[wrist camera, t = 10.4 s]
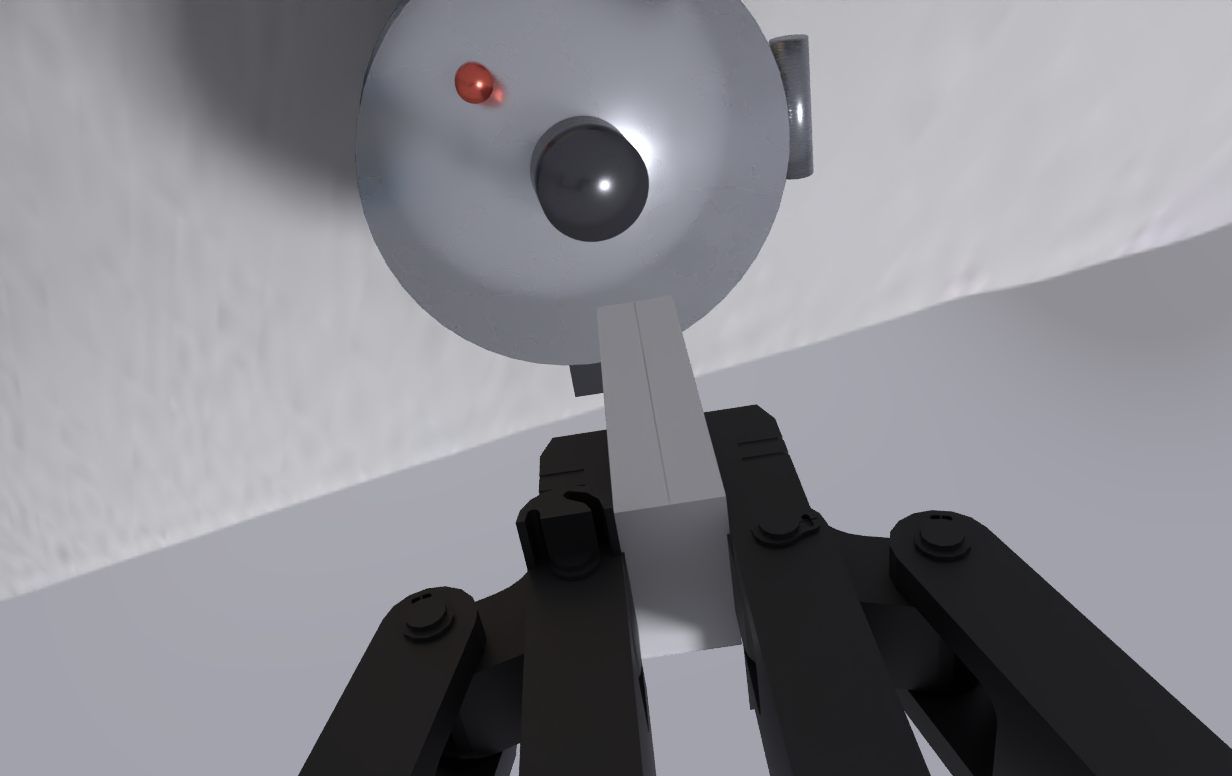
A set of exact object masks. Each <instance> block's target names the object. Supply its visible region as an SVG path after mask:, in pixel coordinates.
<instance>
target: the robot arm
mask: <svg viewBox="0 0 1232 776" xmlns="http://www.w3.org/2000/svg"><path fill="white" fill-rule="evenodd" d="M596 310H597V322H598V334H599V345H600V357H601V369H602V381H603V392H604V404H605V416H606V427H607V430H601V431H594V432H588V433H581V434H575V435H568V436H562V437H555V438H552V440H551V441H550V443H549V444H548V446H547V447H546V449H545V450H544V452H543V453H542V455H541V456H540V474H539V476H540V480H539V496H537V497H535V498H533V499H531V500H530V501H529V502H528V503H527V504H526V505H525V506H524V507H523V508H522V509H521V510H520V512H519V515H518V518H517V521H516V526H517V530H518V534H519V538H520V542H521V546H522V550H523V553H524V558H525V561H526V565H527V569H528V571H527V573H526V574H525V575H524V576H523V577H522V578H521V579H520V580H519V581H517V582H516V583H515V584H513V585H512V586H510V587H509V588H506V589H504V590H503V591H500V592H498V593H496V594H494V595H492V596H489V597H486V598H484V599H481V600H479V601H476V602H475V601H474V599H473V597H472V596H470V595H469V594H467V593H466V592H464V591H463V590H462V589H457V588H451V587H446V586H444V587H436V588H428V589H425V590H422V591H420V592H417V593H414V594H412V595H409V596H408V597H406V598H405V599H404V600H402V601H401V602H399V603H398V604H396V605H395V606H393V608H392V609H391V610H390V611H389V613H388V614H387V615H386V616H385V618H384V619H383V620H382V622H381V624H380V626H379V628H378V630H377V631H376V633H375V635H374V637H373V639H372V640H371V642H370V644H369V646H368V648H367V650H366V652H365V653H364V656H363V657H362V659H361V661H360V663H359V664H358V666H357V668H356V670H355V672H354V674H353V675H352V677H351V679H350V681H349V683H348V685H347V687H346V688H345V690H344V692H343V694H342V696H341V698H340V699H339V701H338V703H337V705H336V707H335V709H334V711H333V712H332V714H331V716H330V718H329V720H328V722H327V723H326V725H325V727H324V729H323V731H322V733H321V734H320V736H319V738H318V740H317V742H316V744H315V746H314V747H313V749H312V751H311V753H310V755H309V757H308V758H307V760H306V762H305V764H304V766H303V768H302V769H301V772H300V773H299V775H298V776H509V775H510V772H511V769H512V766H513V763H514V760H515V757H516V748H517V744H518V743H520V764H519V776H656V770H655V760H654V751H653V743H652V734H651V724H650V715H649V706H648V697H647V688H646V683H645V677H644V672H643V667H642V660H641V659H646V658H653V657H659V656H666V655H673V654H679V653H686V652H693V651H700V650H707V649H714V648H721V647H727V646H734V645H741V644H742V642H743V646H744V655H745V665H746V674H747V683H748V693H749V702H750V710H752V709H755V712H756V717H757V721H758V725H759V729H760V734H761V738H762V743H763V747H764V751H765V756H766V760H767V764H768V768H769V773H770V776H931V775H930V773H929V770H928V768H927V766H926V763H925V760H924V758H923V756H922V753H921V751H920V748H919V746H918V743H917V741H916V738H915V736H914V734H913V731H912V729H911V726H910V724H909V721H908V719H907V717H906V714H907V715H908V716H909V718H910V719H911V720H912V722H913V723H914V724H915V726H916V727H917V728H918V730H919V731H920V732H921V734H922V735H923V736H924V738H925V739H926V740H927V742H928V743H929V745H930V746H931V747H932V749H933V750H934V751H935V752H936V754H937V755H938V757H939V758H940V759H941V761H942V762H943V763H944V765H945V766H946V767H947V769H948V770H949V771H950V773H951V774H952V775H953V776H1232V749H1231V748H1230V747H1229V746H1228V745H1227V744H1226V743H1224V742H1223V741H1222V740H1221V739H1220V738H1219V737H1218V736H1217V735H1216V734H1214V733H1213V732H1212V731H1211V730H1210V729H1209V728H1208V727H1207V726H1206V725H1204V724H1203V723H1202V722H1201V721H1200V720H1199V719H1198V718H1196V716H1195V715H1193V714H1192V713H1191V712H1190V711H1189V710H1188V709H1187V708H1186V707H1185V706H1184V705H1182V704H1181V703H1180V702H1179V701H1178V700H1177V699H1176V698H1175V697H1174V696H1172V695H1171V694H1170V693H1169V692H1168V691H1167V690H1166V689H1165V688H1164V687H1163V686H1161V685H1160V684H1159V683H1158V682H1157V681H1156V680H1155V679H1154V678H1153V677H1151V676H1150V675H1149V674H1148V673H1147V672H1146V671H1145V670H1144V669H1142V668H1141V667H1140V666H1139V665H1138V664H1137V663H1136V662H1135V661H1134V660H1133V659H1132V658H1130V657H1129V656H1128V655H1127V654H1126V653H1125V652H1124V651H1123V650H1122V649H1121V648H1119V647H1118V646H1117V645H1116V644H1115V643H1114V642H1113V641H1112V640H1110V639H1109V638H1108V637H1107V636H1106V635H1105V634H1104V633H1103V632H1102V631H1101V630H1100V629H1098V628H1097V627H1096V626H1095V625H1094V624H1093V623H1092V622H1091V621H1090V620H1088V619H1087V618H1086V617H1085V616H1084V615H1083V614H1082V613H1081V612H1079V610H1077V609H1076V608H1075V607H1074V606H1073V605H1072V604H1071V603H1070V602H1069V601H1067V600H1066V599H1065V598H1064V597H1063V596H1062V595H1061V594H1060V593H1059V592H1057V591H1056V590H1055V589H1054V588H1053V587H1052V586H1051V585H1050V584H1049V583H1048V582H1046V581H1045V580H1044V579H1043V578H1042V577H1041V576H1040V575H1039V574H1038V573H1036V572H1035V571H1034V570H1033V569H1032V568H1031V567H1030V566H1029V565H1028V564H1027V563H1025V562H1024V561H1023V560H1022V559H1021V558H1020V557H1019V556H1018V555H1017V554H1016V553H1014V552H1013V551H1012V550H1011V549H1010V548H1009V547H1008V546H1007V545H1005V544H1004V543H1003V542H1002V541H1001V540H1000V539H999V538H998V537H997V536H996V535H994V534H993V533H992V532H991V531H990V530H989V529H988V528H987V527H985V526H984V525H982V524H981V523H979V522H978V521H976V520H974V519H973V518H971V517H968V516H965V515H961V514H958V513H955V512H951V511H935V510H931V511H926V512H919V513H914V514H911V515H910V516H908V517H906V518H904V519H902V520H900V521H898V523H897V524H896V525H895V527H894V528H893V529H892V530H891V532H890V538H884V537H870V536H861V535H854V534H848V533H845V532H842V531H839V530H836V529H834V528H832V527H830V526H828V524H827V522H826V521H825V520H824V518H823V517H822V516H821V515H820V513H818V512H816V511H815V510H813V509H811V507H810V506H809V503H808V501H807V498H806V495H805V493H804V491H803V488H802V485H801V483H800V480H799V478H798V475H797V473H796V470H795V468H794V465H793V463H792V460H791V458H790V455H788V450H787V448H786V445H785V442H784V440H783V439H782V435H781V432H780V430H779V427H778V425H777V422H776V420H775V418H774V417H772V416H771V415H769V414H768V413H767V412H766V411H764V410H763V409H762V408H760V407H759V406H758V405H750V406H744V407H737V408H730V409H724V410H717V411H711V412H704V413H703V409H702V405H701V402H700V398H699V394H698V390H697V387H696V383H695V379H694V375H693V372H692V368H691V364H690V361H689V357H688V353H687V349H686V346H685V342H684V338H683V334H682V331H681V327H680V323H679V320H678V316H677V312H676V308H675V305H674V301H673V297H672V296H667V297H660V298H654V299H648V300H641V301H635V302H628V303H622V304H616V305H609V306H603V307H597V308H596ZM741 638H742V642H741ZM904 711H905V712H906V714H905V712H904Z"/></svg>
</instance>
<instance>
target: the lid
mask: <svg viewBox="0 0 1232 776" xmlns="http://www.w3.org/2000/svg"><path fill="white" fill-rule="evenodd" d="M789 139H790V126H789V117H788V108H787V100H786V95H785V91H784V87H783V83H782V79H781V75H780V71H779V69H778V66H777V64H776V61H775V58H774V56H773V53H772V51H771V48H770V46H769V44H768V42H767V40H766V38H765V36H764V35H763V33H762V31H761V29H760V28H759V26H758V24H757V22H756V20H755V19H754V17H753V16H752V15H751V13H750V12H749V11H748V9H747V8H746V7H745V5H744V4H743V3H742V2H741V0H409V1H408V2H407V3H406V5H405V6H404V7H403V9H402V10H401V12H400V13H399V15H398V16H397V18H396V19H395V20H394V22H393V23H392V25H391V26H390V28H389V29H388V31H387V33H386V35H385V37H384V39H383V41H382V43H381V45H380V47H379V49H378V51H377V53H376V55H375V57H374V59H373V62H372V65H371V68H370V71H369V74H368V77H367V80H366V83H365V86H364V90H363V94H362V99H361V104H360V110H359V115H358V120H357V129H356V149H355V158H356V170H357V181H358V188H359V192H360V197H361V201H362V206H363V210H364V214H365V217H366V220H367V222H368V225H369V228H370V230H371V233H372V236H373V239H374V241H375V243H376V245H377V247H378V249H379V250H380V252H381V254H382V256H383V258H384V260H385V262H386V264H387V266H388V267H389V268H390V270H391V271H392V273H393V274H394V275H395V277H396V278H397V280H398V281H399V282H400V284H401V285H402V287H403V288H404V289H405V290H406V291H407V292H408V293H409V295H410V296H411V297H412V298H413V299H414V300H415V301H416V302H417V303H418V304H419V305H420V306H421V307H422V308H423V309H424V310H425V311H426V312H427V313H429V314H430V315H431V316H432V317H433V318H435V319H436V320H437V321H438V322H439V323H441V324H442V325H443V326H445V327H446V328H448V329H449V330H451V331H453V332H454V333H456V334H457V335H459V336H461V337H462V338H464V339H465V340H467V341H470V342H472V343H474V344H476V345H478V346H480V347H482V348H484V349H487V350H489V351H492V352H495V353H498V354H501V355H504V356H507V357H510V358H513V359H518V360H523V361H528V362H534V363H539V364H553V365H581V364H593V363H599V362H601V357H600V345H599V334H598V322H597V310H596V308H597V307H603V306H609V305H616V304H622V303H628V302H635V301H641V300H648V299H654V298H660V297H667V296H672V297H673V301H674V305H675V308H676V312H677V316H678V320H679V323H680V327H681V331H682V332H683V331H685V330H686V329H687V328H689V327H690V326H691V325H693V324H694V323H696V322H697V321H698V320H700V319H701V318H703V317H704V316H705V315H706V314H708V313H709V312H710V311H711V310H712V309H713V308H714V307H715V306H716V305H717V304H719V303H720V302H721V301H722V300H723V299H724V298H725V297H726V296H727V295H728V293H729V292H730V291H731V290H732V289H733V288H734V287H735V285H736V284H737V283H738V282H739V281H740V280H741V279H742V277H743V276H744V274H745V273H746V271H747V270H748V268H749V267H750V266H751V264H752V263H753V261H754V260H755V258H756V257H757V255H758V253H759V251H760V249H761V248H762V246H763V244H764V242H765V240H766V238H767V236H768V234H769V232H770V230H771V227H772V225H773V222H774V219H775V217H776V214H777V212H778V209H779V206H780V202H781V198H782V194H783V190H784V186H785V183H786V176H787V168H788V161H789Z"/></svg>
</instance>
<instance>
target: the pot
mask: <svg viewBox="0 0 1232 776" xmlns="http://www.w3.org/2000/svg"><path fill="white" fill-rule="evenodd" d="M408 1H409V0H402V1H401V2H400V4H399V5H398V6H397V8H396V9H395V11H394V12H393V14H392V15H391V17H390V18H389V20H388V21H387V23H386V24H385V27H384V29H383V31H382V33H381V35H380V37H379V39H378V41H377V43H376V45H375V47H374V49H373V52H372V55H371V58H370V61H369V64H368V67H367V70H366V74H365V78H364V83H363V89H362V94H363V90H364V86H365V83H366V80H367V77H368V74H369V71H370V68H371V65H372V62H373V59H374V57H375V55H376V53H377V51H378V49H379V47H380V45H381V43H382V41H383V39H384V37H385V35H386V33H387V31H388V29H389V28H390V26H391V25H392V23H393V22H394V20H395V19H396V18H397V16H398V15H399V13H400V12H401V10H402V9H403V7H404V6H405V5H406V3H407V2H408ZM769 46H770V48H771V51H772V53H773V56H774V58H775V61H776V64H777V66H778V69H779V71H780V75H781V79H782V83H783V87H784V91H785V95H786V100H787V108H788V117H789V126H790V139H789V161H788V168H787V176H786V179H800V178H805V177H808V176H810V175H812V174H813V146H812V120H811V94H810V69H809V43H808V36H807V35H787V36H781V37H777V38H773V39H771V40H769ZM362 94H361V99H362ZM360 104H361V100H360ZM569 366H570V372H571V377H572V382H573V387H574V392H575V397H579V396H586V395H592V394H599V393H604V392H603V381H602V369H601V362H599V363H593V364H581V365H569Z"/></svg>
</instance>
